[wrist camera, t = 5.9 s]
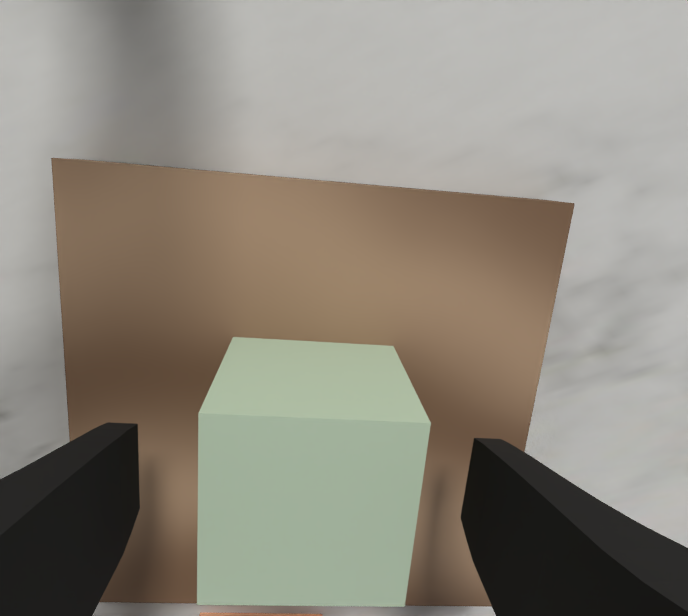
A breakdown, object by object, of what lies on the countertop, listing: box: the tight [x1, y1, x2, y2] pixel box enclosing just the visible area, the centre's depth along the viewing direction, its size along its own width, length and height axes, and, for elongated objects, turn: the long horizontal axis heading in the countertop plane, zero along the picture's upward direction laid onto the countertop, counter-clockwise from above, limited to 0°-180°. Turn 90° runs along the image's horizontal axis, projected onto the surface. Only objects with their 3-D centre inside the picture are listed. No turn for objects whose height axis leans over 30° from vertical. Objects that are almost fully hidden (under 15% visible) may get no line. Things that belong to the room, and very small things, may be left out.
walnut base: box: [51, 158, 574, 606], centre depth 14 cm, size 12×12×2 cm
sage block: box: [197, 337, 431, 607], centre depth 11 cm, size 4×4×4 cm
